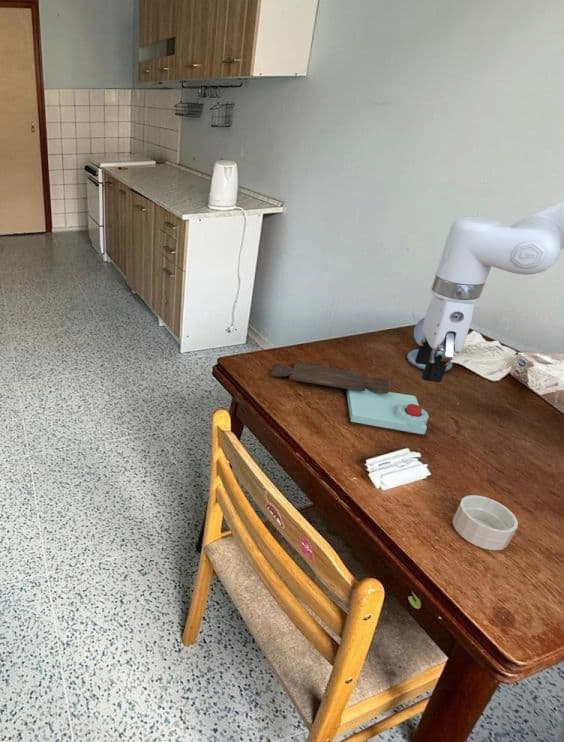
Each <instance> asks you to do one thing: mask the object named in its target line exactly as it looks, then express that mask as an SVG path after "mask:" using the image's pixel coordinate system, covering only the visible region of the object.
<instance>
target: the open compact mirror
mask: <svg viewBox="0 0 564 742" xmlns="http://www.w3.org/2000/svg"><path fill="white" fill-rule="evenodd" d="M424 319H425V317H423V318H420V320H419V321H418V322H417V323H416V324H415V325H414V329H413V338H414V341H415V342H416V344H417V345H419V346H420V345H421V340H422V338H423V336H424V333H423V329H422V327H423V322H424ZM437 347H438V348H443V347H444V345H438V346H437ZM418 350H419V348H418V349H413V350H411V351H410V352H408V353H407V355H406V358H407V360H408V362H409V363H410V364H411V365H412V366H414V367H416V368H418V369H420V370H423V371H424V369H425V366H426V365H424V364H417V363H416V362H415V359H416V356H417V353H418ZM438 355H442V352H441V353H440V352H439V351H438V352H437V355H436V356H438ZM452 368H453V362H452V359H451V360H450V361H449V363H448V366H447V367H446V370H445V372H448V371H449V370H451V369H452Z"/></svg>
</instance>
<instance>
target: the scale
mask: <svg viewBox="0 0 564 742" xmlns="http://www.w3.org/2000/svg"><path fill="white" fill-rule="evenodd" d="M346 398H347V406H348V412H349V419H350V422H352V423H358V424H362V425H369V426H374V427H379V428H386V429H390V430H397V431H402V432H408V433H413V434H419V435H426V431H427V423H428V420H429V416H430V415H429V413H428V412H427V411H426V410H425V409H423V408H422V411H421V414H420V416H419V417H415V416H411V415H409V414H407V413H406V409H407V406H408V405H409V404H415V405H418V406H420V404H419V401H418V399H417V396H416V395H413V394H412V395H410V394H404V393H400V392H399V393H398V392H393V391H388V393H386V394H382V393H377V392H374V391H372V390H370V389H368V388H366V387H365V391H357V390H350V389H346Z"/></svg>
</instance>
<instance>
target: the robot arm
mask: <svg viewBox="0 0 564 742" xmlns="http://www.w3.org/2000/svg"><path fill="white" fill-rule="evenodd" d="M562 249H564V200H563V201H561V202H558V203H556V204H553V205H550V206H549V207H546V208H544V209H541V210H539V211H536V212H534V213H532V214H530V215H527V216H525V217H523V218H521V219H519V220H517V221H516V222H515V223H513V224H512V225H510V227H509V226H505V225H504V224H503V222H501V221H499V220H498V219H495V218H491V217H486V216H485V217H484V216H470V215H469V216H461V217H458V218H456V219H455V220H454V221H453V222H452V224H451V226H450V228H449V231H448V234H447V236H446V240H445V243H444V246H443V250H442V253H441V256H440V259H439V262H438V266H437V269H436V272H435V275H434V278H433V280H432V284H431V286H430V293H431V294H432V297H431V299H430V302H429V304H428V307H427V310H426V313H425V316H424V318H425V319H424V322H423V327H422V329H423V333H424V336H423V338H422V340H421V345H419V347H418V349H419V350H418V353H417V356H416V359H415V362H416V363H417V364H424V365H426V366H425V369H424V370H423V372H422V375H421V379H422V381H428V382H433V383H441V382H442V380H443V378H444V375H445V372H446V371H445V370H446V367H447V366H448V363H449V361H450V360H451V361H452V360H453V359H454V352H455V353H456V354H459V353H461V352H462V351H463V349H464V346H465V344H466V343H465V342H466V340H467V337H468V333H469V331H470V327H471V323H472V320H473V315H474V312H475V311H474V310H475V304H476V302H478V301H479V300H480V298H481V295H482V293H483V289H484V287H485V285H486V283H487V282H486V281H487V279H488V276H489V274H490V271H491V268H496V269H498V270H501V271H505V272H509V273H512V274H516V275H525V276H526V275H527V276H528V275H529V276H531V275H537V274H540V273H543V272H545V271H547V270H549V269H550V268H552V267H553V266H554V265H555V264H556V262H557V261H558V260H559V258H560V255H561V250H562ZM438 345H444V347H443V348H438V347H437V346H438ZM437 352H438V353H439V352H441V354H442V355H438V356H436V355H437Z"/></svg>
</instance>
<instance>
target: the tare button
mask: <svg viewBox="0 0 564 742" xmlns="http://www.w3.org/2000/svg"><path fill="white" fill-rule="evenodd" d="M422 409H423V407H422V406H420V405H419V406H418V405H415V404H409V405H408V406H407V409H406V413H407V414H409V415H411V416H415V417H419V416H420V414H421V411H422Z"/></svg>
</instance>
